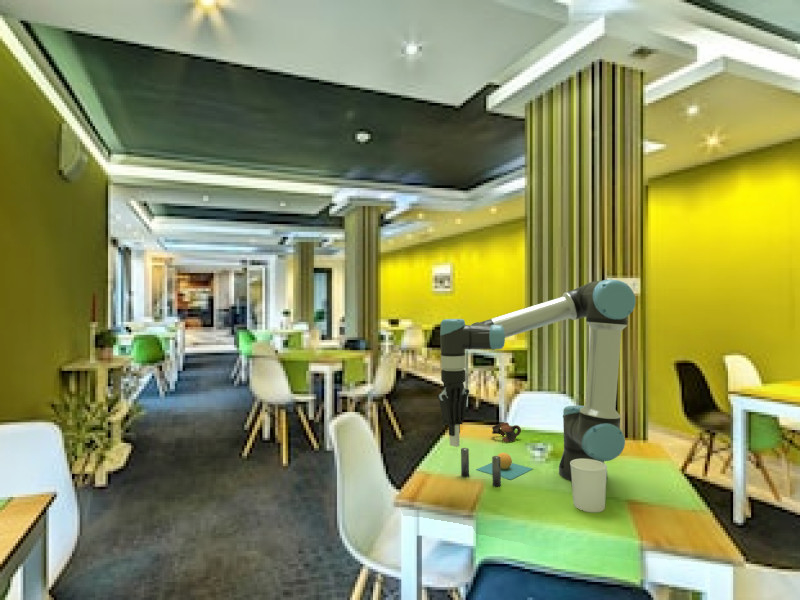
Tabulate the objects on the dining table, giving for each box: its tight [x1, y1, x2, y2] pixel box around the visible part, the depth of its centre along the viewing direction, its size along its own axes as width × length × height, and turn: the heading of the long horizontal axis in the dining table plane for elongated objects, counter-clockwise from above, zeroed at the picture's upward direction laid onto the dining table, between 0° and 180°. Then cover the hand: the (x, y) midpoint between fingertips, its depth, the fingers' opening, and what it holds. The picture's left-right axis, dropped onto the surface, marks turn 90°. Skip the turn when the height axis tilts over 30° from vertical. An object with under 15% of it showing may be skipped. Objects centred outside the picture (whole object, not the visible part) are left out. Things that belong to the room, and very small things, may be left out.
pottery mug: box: [491, 422, 522, 443], centre depth 203 cm, size 12×10×8 cm
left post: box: [460, 447, 470, 478], centre depth 162 cm, size 3×3×9 cm
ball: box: [497, 452, 513, 469], centre depth 168 cm, size 6×6×6 cm
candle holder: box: [570, 459, 608, 514], centre depth 136 cm, size 10×10×12 cm
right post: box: [491, 455, 502, 488], centre depth 153 cm, size 3×3×9 cm
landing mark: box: [475, 462, 534, 481], centre depth 167 cm, size 14×14×1 cm
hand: (454, 445), depth 148 cm, fingers closed
